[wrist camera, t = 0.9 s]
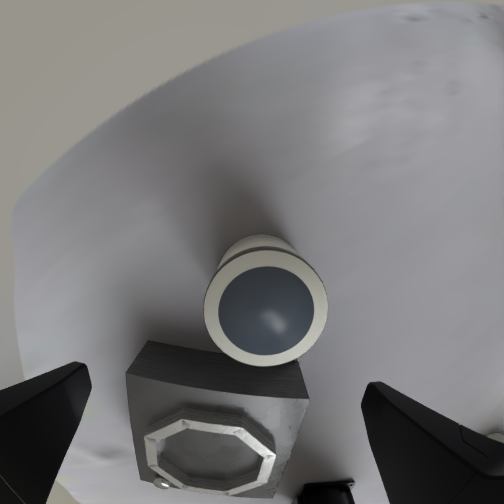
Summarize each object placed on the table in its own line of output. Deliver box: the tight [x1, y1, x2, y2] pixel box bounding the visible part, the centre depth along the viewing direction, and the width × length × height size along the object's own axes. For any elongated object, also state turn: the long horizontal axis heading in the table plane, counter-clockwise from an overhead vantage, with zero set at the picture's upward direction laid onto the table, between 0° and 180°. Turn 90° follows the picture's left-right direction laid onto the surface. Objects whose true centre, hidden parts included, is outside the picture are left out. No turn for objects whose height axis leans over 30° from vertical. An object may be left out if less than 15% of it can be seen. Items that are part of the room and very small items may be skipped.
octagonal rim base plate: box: [126, 341, 309, 498], centre depth 20 cm, size 12×13×6 cm
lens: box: [203, 234, 328, 366], centre depth 17 cm, size 6×6×7 cm
